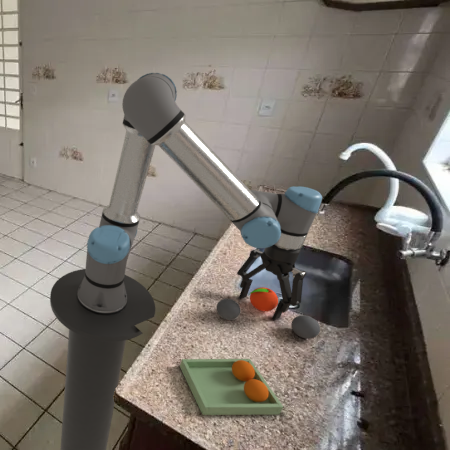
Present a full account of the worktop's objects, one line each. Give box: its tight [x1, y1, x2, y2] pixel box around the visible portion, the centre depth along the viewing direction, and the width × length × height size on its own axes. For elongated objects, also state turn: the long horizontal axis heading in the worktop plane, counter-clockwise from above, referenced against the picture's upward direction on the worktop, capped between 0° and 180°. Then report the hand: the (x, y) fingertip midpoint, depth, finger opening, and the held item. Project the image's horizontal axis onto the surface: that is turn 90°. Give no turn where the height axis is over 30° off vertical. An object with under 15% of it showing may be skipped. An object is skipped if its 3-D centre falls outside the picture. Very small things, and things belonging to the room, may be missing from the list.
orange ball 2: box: [244, 379, 269, 402], centre depth 77 cm, size 5×5×5 cm
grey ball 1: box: [215, 298, 242, 321], centre depth 100 cm, size 6×6×6 cm
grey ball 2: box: [290, 315, 321, 340], centre depth 93 cm, size 6×6×6 cm
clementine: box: [249, 286, 279, 312], centre depth 103 cm, size 8×7×7 cm
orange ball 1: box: [232, 360, 255, 381], centre depth 82 cm, size 5×5×5 cm
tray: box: [179, 358, 284, 416], centre depth 80 cm, size 17×13×3 cm
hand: (258, 307), depth 104 cm, fingers open, 9 cm apart
